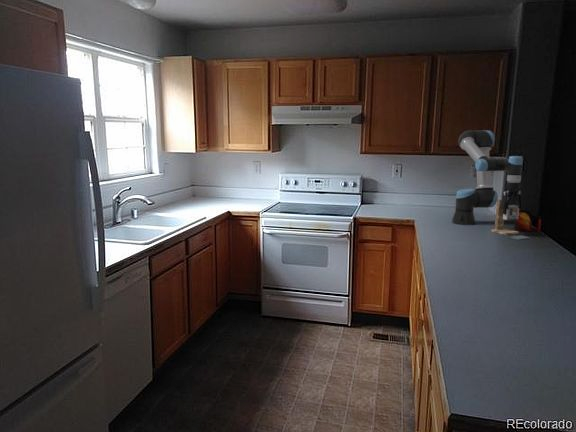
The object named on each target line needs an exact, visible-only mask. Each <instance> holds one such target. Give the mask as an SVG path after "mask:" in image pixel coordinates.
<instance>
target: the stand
mask: <svg viewBox="0 0 576 432" xmlns="http://www.w3.org/2000/svg"><path fill="white" fill-rule="evenodd" d="M501 202H502V199H497V202H496V205H495V206H496V207H495V208H496V209H495V220H494V222H495V223H494V228H492V229H490V232H493V233H496V234H501V235H505V236H510V235H511V236H512V235H519V234H520V233H519V232H520V231H516V230H514V229H513V230H512V229H508V228H504V222H505V219H503V209H502V208H501ZM510 212H511V213H512V212H517V209H514V208H513V209H510Z"/></svg>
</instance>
